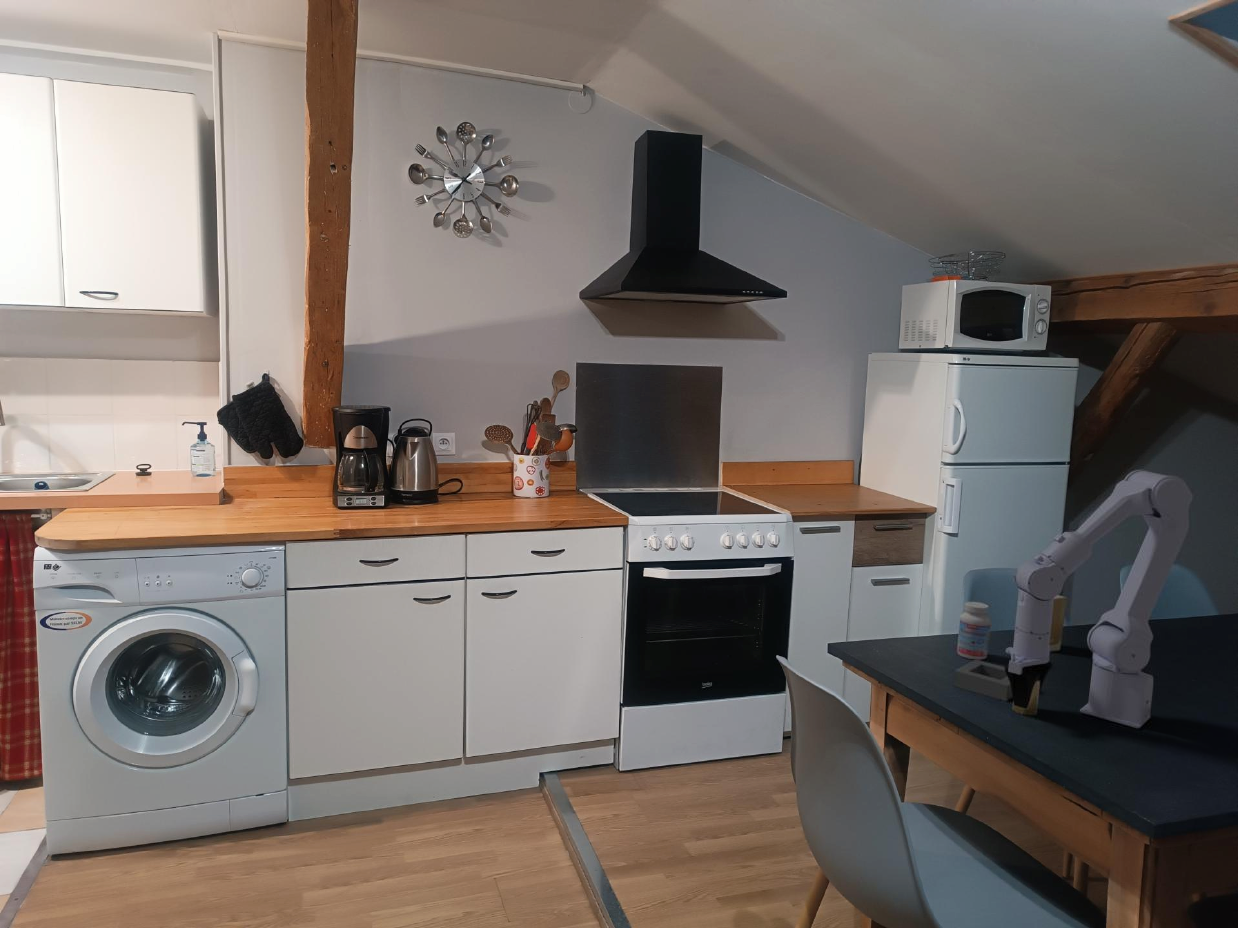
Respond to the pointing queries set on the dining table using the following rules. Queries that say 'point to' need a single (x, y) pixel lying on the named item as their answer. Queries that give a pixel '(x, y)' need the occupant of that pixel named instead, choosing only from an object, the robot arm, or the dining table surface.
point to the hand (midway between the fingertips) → (1025, 703)
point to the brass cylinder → (1032, 704)
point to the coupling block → (984, 679)
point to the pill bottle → (974, 631)
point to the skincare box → (1057, 622)
